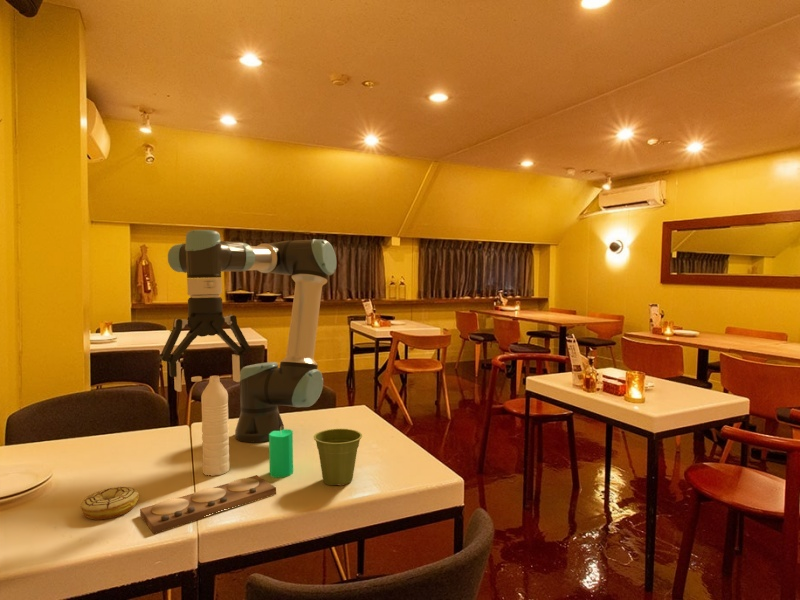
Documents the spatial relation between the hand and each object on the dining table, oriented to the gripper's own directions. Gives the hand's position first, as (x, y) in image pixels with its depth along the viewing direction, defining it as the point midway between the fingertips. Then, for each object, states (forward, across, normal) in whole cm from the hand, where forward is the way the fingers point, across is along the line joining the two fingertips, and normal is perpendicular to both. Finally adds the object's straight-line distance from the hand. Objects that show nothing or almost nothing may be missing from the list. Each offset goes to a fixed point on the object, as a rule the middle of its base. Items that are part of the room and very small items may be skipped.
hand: (208, 385), depth 113 cm
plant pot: (+25, +25, -17) cm, 39 cm away
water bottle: (+25, +3, +9) cm, 27 cm away
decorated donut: (+25, -21, +3) cm, 32 cm away
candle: (+25, +16, -3) cm, 30 cm away
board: (+24, -3, -9) cm, 26 cm away
